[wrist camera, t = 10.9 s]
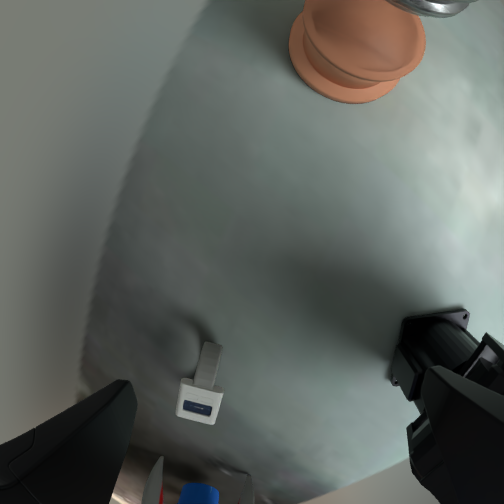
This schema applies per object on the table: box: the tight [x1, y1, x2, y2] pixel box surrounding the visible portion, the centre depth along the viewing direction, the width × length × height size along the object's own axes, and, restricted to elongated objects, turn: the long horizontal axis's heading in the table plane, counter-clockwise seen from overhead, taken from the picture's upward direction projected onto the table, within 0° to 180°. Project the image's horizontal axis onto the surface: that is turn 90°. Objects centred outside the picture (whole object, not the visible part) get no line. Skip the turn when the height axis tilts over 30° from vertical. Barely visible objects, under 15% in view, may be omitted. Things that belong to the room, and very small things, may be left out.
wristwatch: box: [175, 341, 224, 425], centre depth 21 cm, size 6×3×5 cm, turn 166°
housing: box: [289, 0, 426, 104], centre depth 14 cm, size 8×8×5 cm
